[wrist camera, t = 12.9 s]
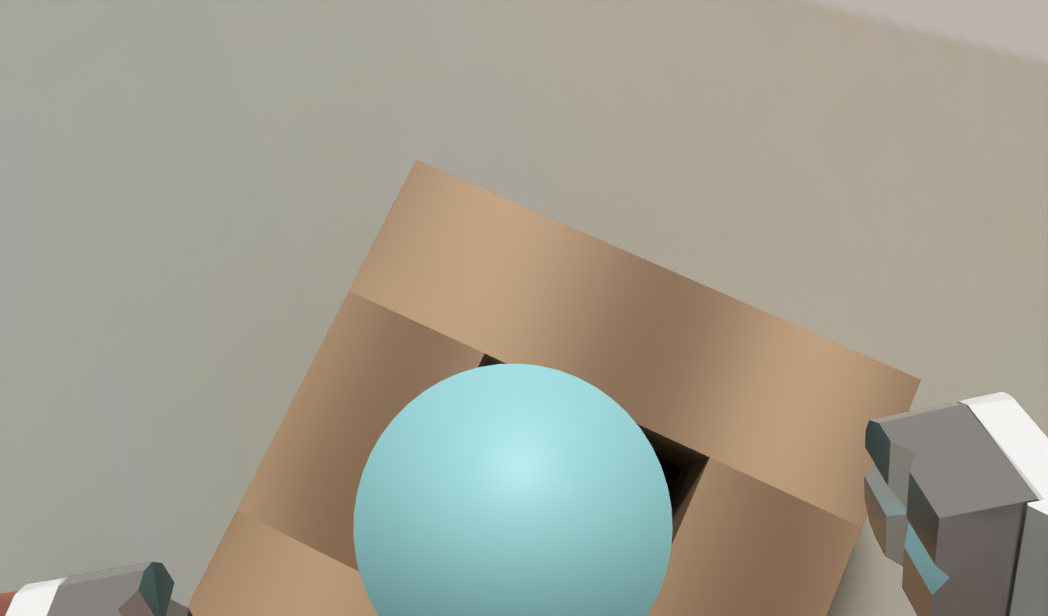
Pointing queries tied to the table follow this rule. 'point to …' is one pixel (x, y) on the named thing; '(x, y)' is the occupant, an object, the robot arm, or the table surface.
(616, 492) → the long pin
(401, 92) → the table surface
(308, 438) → the hole block
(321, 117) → the table surface
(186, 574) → the table surface
